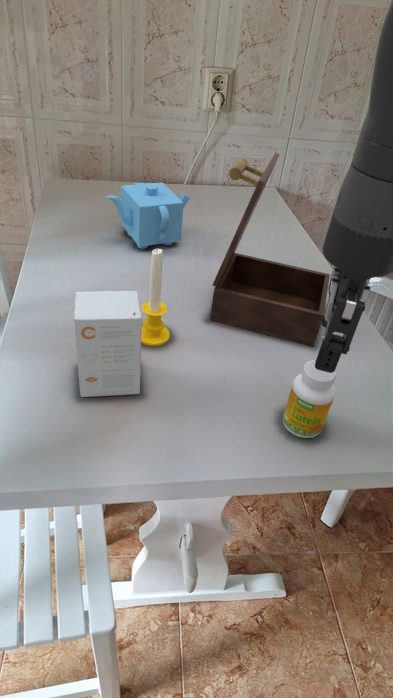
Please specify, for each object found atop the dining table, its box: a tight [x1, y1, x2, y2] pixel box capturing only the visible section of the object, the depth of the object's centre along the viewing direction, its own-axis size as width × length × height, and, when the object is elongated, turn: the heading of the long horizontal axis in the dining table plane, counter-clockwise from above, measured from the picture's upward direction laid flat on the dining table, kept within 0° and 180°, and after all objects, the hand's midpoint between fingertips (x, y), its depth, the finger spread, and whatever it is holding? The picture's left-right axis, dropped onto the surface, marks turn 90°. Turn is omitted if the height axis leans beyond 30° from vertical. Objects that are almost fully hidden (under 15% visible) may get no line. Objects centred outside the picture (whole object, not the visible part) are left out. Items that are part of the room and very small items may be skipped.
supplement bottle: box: [282, 359, 337, 439], centre depth 63 cm, size 5×5×10 cm
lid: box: [212, 152, 280, 288], centre depth 77 cm, size 18×14×5 cm
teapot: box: [104, 181, 191, 249], centre depth 99 cm, size 16×18×11 cm
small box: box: [73, 290, 143, 398], centre depth 64 cm, size 8×6×13 cm
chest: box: [209, 252, 331, 348], centre depth 84 cm, size 18×14×6 cm
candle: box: [141, 246, 171, 347], centre depth 72 cm, size 5×5×16 cm
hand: (326, 346), depth 57 cm, fingers open, 8 cm apart
